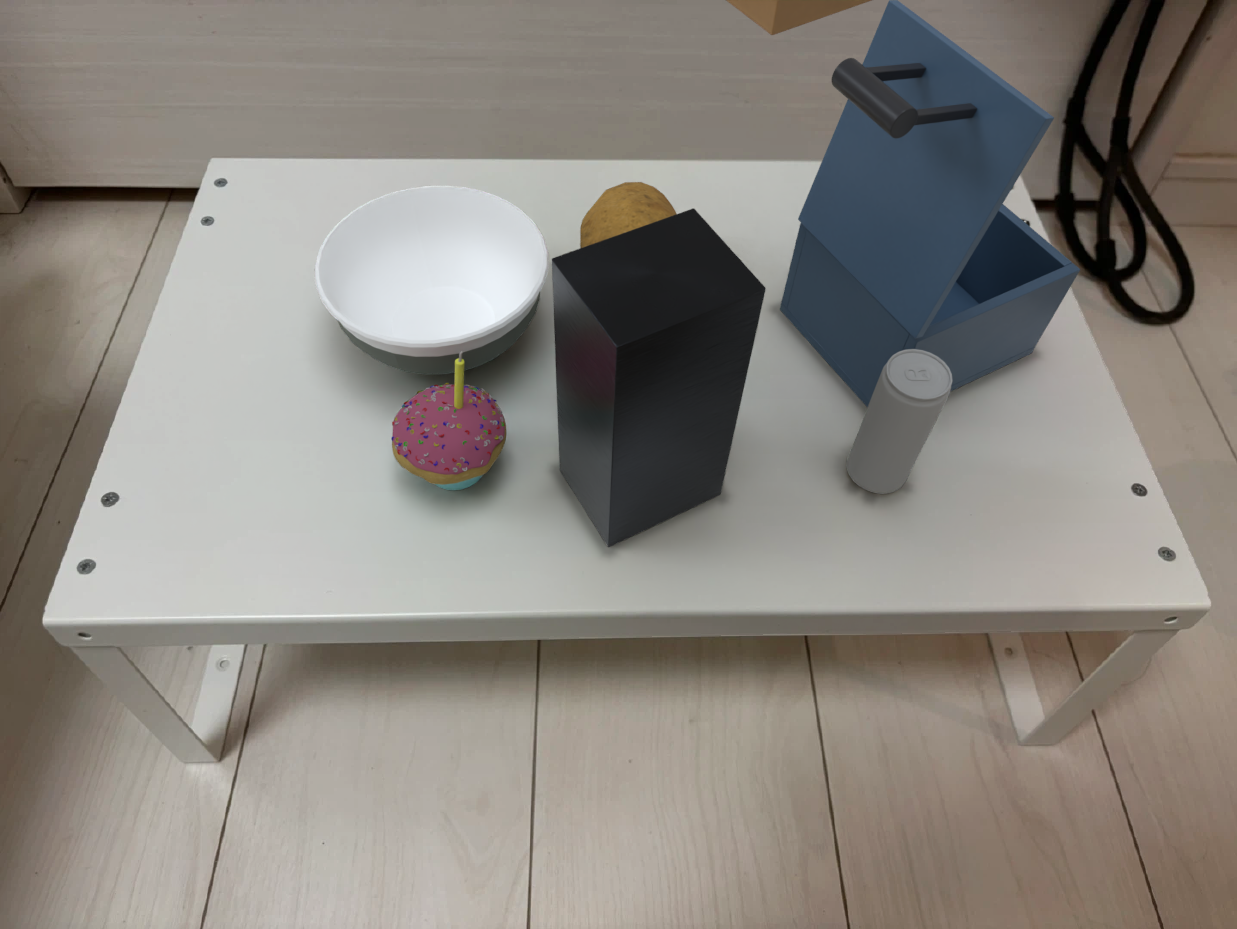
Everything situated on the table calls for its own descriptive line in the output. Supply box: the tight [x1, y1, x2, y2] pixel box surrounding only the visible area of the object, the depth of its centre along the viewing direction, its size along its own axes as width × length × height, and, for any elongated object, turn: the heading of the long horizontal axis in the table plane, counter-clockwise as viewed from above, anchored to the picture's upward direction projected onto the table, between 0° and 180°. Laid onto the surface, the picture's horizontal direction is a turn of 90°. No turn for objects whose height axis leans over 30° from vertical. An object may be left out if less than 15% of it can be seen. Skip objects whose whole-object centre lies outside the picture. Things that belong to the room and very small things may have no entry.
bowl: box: [313, 185, 550, 375], centre depth 78 cm, size 19×19×8 cm
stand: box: [551, 207, 767, 548], centre depth 63 cm, size 8×10×22 cm
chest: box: [779, 203, 1081, 408], centre depth 79 cm, size 17×15×10 cm
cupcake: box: [391, 351, 507, 491], centre depth 68 cm, size 9×8×12 cm
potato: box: [579, 181, 677, 249], centre depth 81 cm, size 10×13×9 cm
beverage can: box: [845, 349, 952, 495], centre depth 69 cm, size 5×5×12 cm
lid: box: [797, 0, 1055, 339], centre depth 63 cm, size 18×15×8 cm
